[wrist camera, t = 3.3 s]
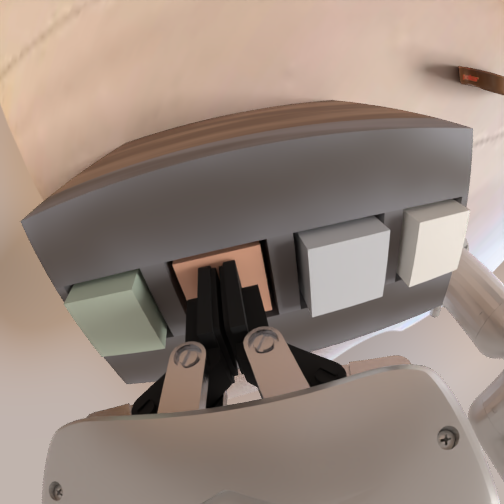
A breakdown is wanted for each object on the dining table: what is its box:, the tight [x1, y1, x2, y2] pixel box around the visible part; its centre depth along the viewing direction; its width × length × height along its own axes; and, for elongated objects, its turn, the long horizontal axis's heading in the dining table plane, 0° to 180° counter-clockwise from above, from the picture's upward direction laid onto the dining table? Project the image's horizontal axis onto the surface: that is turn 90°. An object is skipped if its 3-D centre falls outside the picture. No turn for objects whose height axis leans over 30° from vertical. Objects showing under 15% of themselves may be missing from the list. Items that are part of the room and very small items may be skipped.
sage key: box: [64, 268, 167, 357], centre depth 13 cm, size 4×4×2 cm
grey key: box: [293, 215, 390, 317], centre depth 13 cm, size 4×4×2 cm
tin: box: [458, 66, 504, 95], centre depth 21 cm, size 15×3×8 cm, turn 101°
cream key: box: [396, 199, 470, 287], centre depth 13 cm, size 4×4×2 cm
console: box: [21, 100, 473, 384], centre depth 21 cm, size 12×22×19 cm, turn 100°
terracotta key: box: [172, 241, 272, 311], centre depth 14 cm, size 4×4×2 cm
